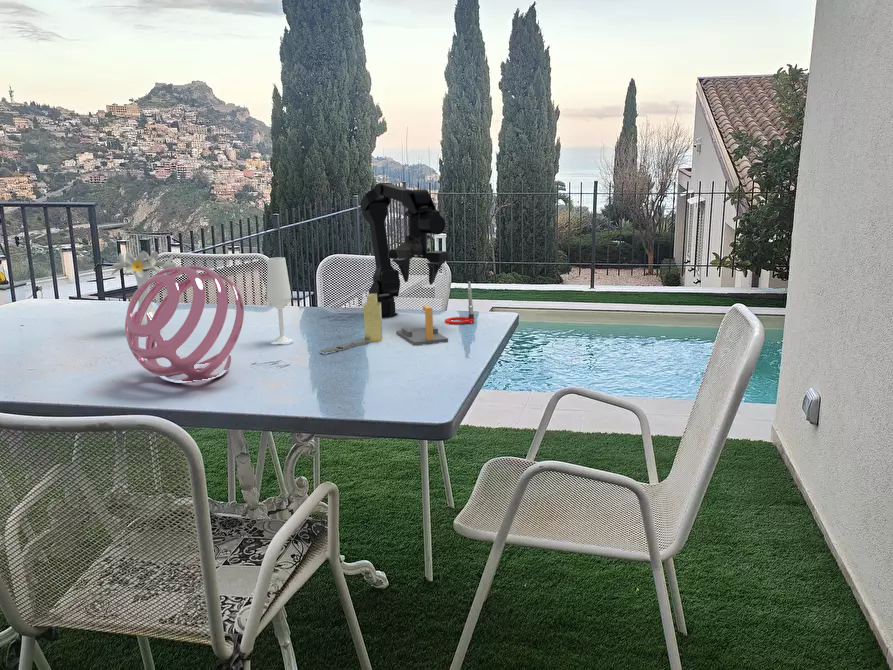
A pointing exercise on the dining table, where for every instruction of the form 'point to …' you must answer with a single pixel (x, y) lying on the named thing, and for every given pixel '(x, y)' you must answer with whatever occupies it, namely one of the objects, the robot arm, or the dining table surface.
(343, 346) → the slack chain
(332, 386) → the dining table surface
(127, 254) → the flower vase
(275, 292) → the champagne flute
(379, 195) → the robot arm
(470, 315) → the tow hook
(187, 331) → the pink lattice ball
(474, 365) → the dining table surface
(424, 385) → the dining table surface
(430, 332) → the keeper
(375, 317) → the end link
